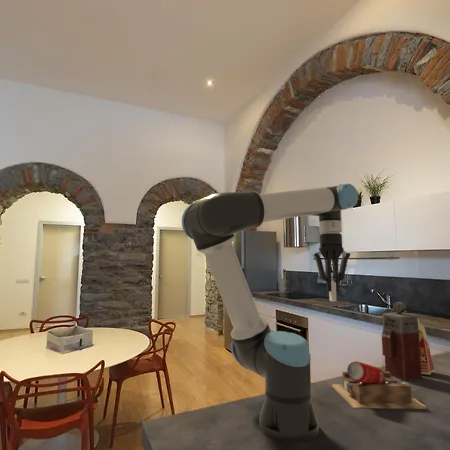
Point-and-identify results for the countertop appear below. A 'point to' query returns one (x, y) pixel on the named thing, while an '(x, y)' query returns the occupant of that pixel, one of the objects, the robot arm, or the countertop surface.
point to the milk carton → (425, 352)
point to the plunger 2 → (401, 382)
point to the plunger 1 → (349, 385)
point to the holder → (378, 394)
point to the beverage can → (365, 373)
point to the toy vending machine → (401, 343)
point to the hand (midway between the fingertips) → (332, 300)
